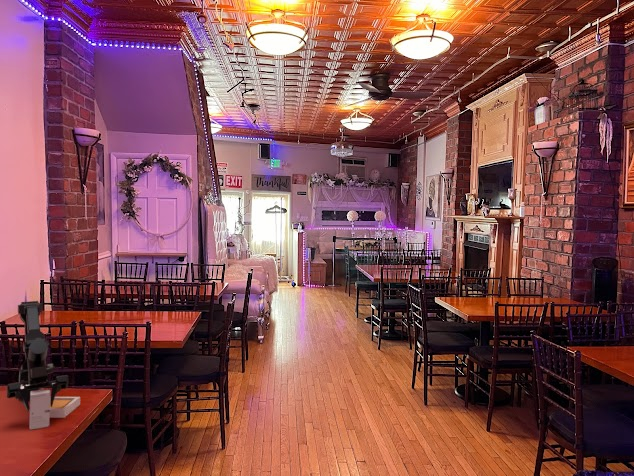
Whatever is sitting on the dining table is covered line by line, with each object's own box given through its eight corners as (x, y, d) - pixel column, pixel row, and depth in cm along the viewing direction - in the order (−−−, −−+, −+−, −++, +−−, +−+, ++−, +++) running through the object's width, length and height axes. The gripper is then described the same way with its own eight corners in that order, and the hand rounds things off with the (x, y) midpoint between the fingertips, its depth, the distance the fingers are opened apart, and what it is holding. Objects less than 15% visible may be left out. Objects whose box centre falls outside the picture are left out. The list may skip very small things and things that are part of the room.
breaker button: (50, 402, 180) (50, 400, 180) (70, 402, 180) (70, 400, 180) (39, 410, 172) (39, 407, 172) (61, 410, 172) (61, 407, 172)
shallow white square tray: (47, 404, 182) (47, 396, 182) (80, 404, 183) (80, 396, 182) (29, 417, 170) (29, 409, 169) (64, 417, 170) (64, 409, 170)
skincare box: (29, 430, 160) (29, 395, 159) (29, 425, 163) (29, 391, 163) (50, 426, 163) (50, 392, 163) (49, 421, 167) (49, 388, 166)
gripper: (7, 360, 160) (8, 403, 152) (68, 353, 171) (72, 392, 162) (6, 377, 167) (7, 418, 158) (65, 368, 178) (69, 406, 169)
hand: (40, 408), depth 162 cm, fingers open, 7 cm apart
